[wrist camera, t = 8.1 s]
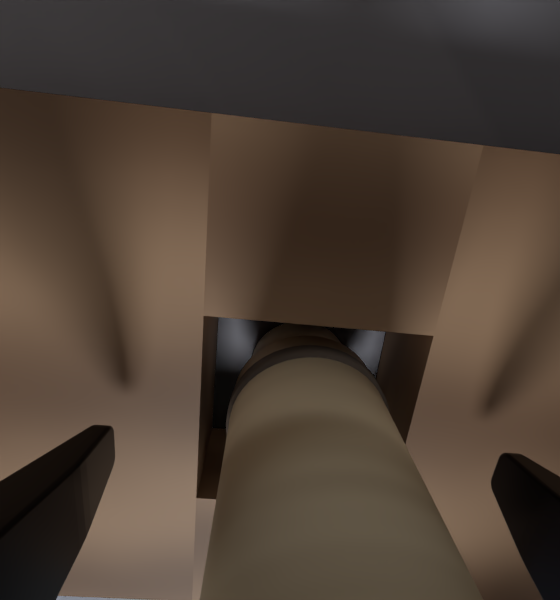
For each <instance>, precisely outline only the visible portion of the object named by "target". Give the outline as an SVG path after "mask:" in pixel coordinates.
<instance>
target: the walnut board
mask: <svg viewBox="0 0 560 600" xmlns="http://www.w3.org/2000/svg"><path fill="white" fill-rule="evenodd" d="M218 317H224V318H235V319H247V320H258V321H270V322H281V323H293V324H304V325H315V326H327V327H338V328H350V329H361V330H373V331H384V332H386V335H385V340H384V344H383V349H382V354H381V358H380V363H379V367H378V372H377V377H376V380H377V382H378V384H379V386H380V388H381V390H382V392H383V394H384V396H385V398H386V401H387V404H388V407H389V413H390V415H391V417H392V419H393V421H394V423H395V425H396V427H397V429H398V431H399V433H400V435H401V437H402V439H403V441H404V443H405V445H406V447H407V449H408V451H409V453H410V455H411V457H412V459H413V461H414V463H415V465H416V467H417V469H418V471H419V473H420V475H421V477H422V479H423V481H424V483H425V485H426V487H427V489H428V491H429V493H430V495H431V497H432V499H433V501H434V503H435V505H436V507H437V509H438V511H439V513H440V515H441V517H442V519H443V521H444V522H445V524H446V526H447V528H448V530H449V532H450V534H451V536H452V538H453V540H454V542H455V544H456V546H457V548H458V550H459V552H460V554H461V556H462V558H463V560H464V562H465V564H466V566H467V568H468V570H469V572H470V574H471V576H472V578H473V580H474V582H475V584H476V586H477V588H478V590H479V592H480V594H481V596H482V598H483V600H543V599H542V597H541V595H540V593H539V591H538V589H537V587H536V586H535V584H534V582H533V580H532V578H531V576H530V574H529V572H528V570H527V568H526V566H525V564H524V562H523V560H522V558H521V556H520V554H519V552H518V550H517V547H516V545H515V543H514V540H513V538H512V536H511V533H510V531H509V529H508V526H507V524H506V522H505V519H504V517H503V515H502V512H501V510H500V508H499V505H498V503H497V501H496V498H495V496H494V494H493V491H492V488H491V478H492V475H493V472H494V470H495V467H496V464H497V462H498V459H499V457H500V455H501V454H502V453H518V454H522V455H524V456H526V457H527V458H529V459H531V460H532V461H534V462H536V463H538V464H539V465H541V466H543V467H544V468H546V469H548V470H549V471H551V472H553V473H554V474H556V475H558V476H559V477H560V154H552V153H544V152H536V151H527V150H519V149H510V148H502V147H494V146H485V145H477V144H468V143H460V142H452V141H443V140H435V139H426V138H418V137H410V136H401V135H393V134H385V133H376V132H368V131H359V130H351V129H343V128H334V127H326V126H317V125H309V124H301V123H292V122H284V121H275V120H267V119H259V118H250V117H242V116H233V115H225V114H217V113H208V112H200V111H192V110H183V109H175V108H166V107H158V106H150V105H141V104H133V103H124V102H116V101H108V100H99V99H91V98H82V97H74V96H66V95H57V94H49V93H41V92H32V91H24V90H15V89H7V88H0V481H1V480H3V479H5V478H6V477H8V476H9V475H11V474H13V473H14V472H16V471H18V470H19V469H21V468H23V467H24V466H26V465H28V464H29V463H31V462H32V461H34V460H36V459H37V458H39V457H41V456H42V455H44V454H46V453H47V452H49V451H51V450H52V449H54V448H55V447H57V446H59V445H60V444H62V443H64V442H65V441H67V440H69V439H70V438H72V437H74V436H75V435H77V434H78V433H80V432H82V431H83V430H85V429H87V428H88V427H90V426H92V425H110V426H112V427H113V429H114V440H115V462H114V466H113V469H112V471H111V474H110V477H109V479H108V482H107V485H106V487H105V490H104V493H103V495H102V498H101V501H100V503H99V506H98V509H97V511H96V514H95V516H94V519H93V522H92V524H91V527H90V530H89V532H88V534H87V537H86V539H85V541H84V543H83V546H82V548H81V550H80V552H79V554H78V556H77V558H76V560H75V562H74V564H73V566H72V568H71V570H70V572H69V574H68V576H67V578H66V580H65V582H64V584H63V586H62V588H61V590H60V592H59V594H58V596H78V597H102V598H125V599H149V600H200V594H201V588H202V582H203V576H204V570H205V564H206V558H207V552H208V546H209V540H210V534H211V528H212V522H213V516H214V510H215V504H216V498H217V492H218V486H219V480H220V474H221V468H222V462H223V456H224V450H225V444H226V438H227V433H226V429H220V428H212V424H213V406H214V387H215V369H216V350H217V332H218Z"/></svg>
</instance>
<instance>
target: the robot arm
mask: <svg viewBox="0 0 560 600" xmlns="http://www.w3.org/2000/svg"><path fill="white" fill-rule="evenodd" d="M114 462H115V440H114V429H113V427H112V426H110V425H92V426H90V427H88V428H87V429H85V430H83V431H82V432H80V433H78V434H77V435H75V436H74V437H72V438H70V439H69V440H67V441H65V442H64V443H62V444H60V445H59V446H57V447H55V448H54V449H52V450H51V451H49V452H47V453H46V454H44V455H42V456H41V457H39V458H37V459H36V460H34V461H32V462H31V463H29V464H28V465H26V466H24V467H23V468H21V469H19V470H18V471H16V472H14V473H13V474H11V475H9V476H8V477H6V478H5V479H3V480H1V481H0V600H56V598H57V596H58V594H59V592H60V590H61V588H62V586H63V584H64V582H65V580H66V578H67V576H68V574H69V572H70V570H71V568H72V566H73V564H74V562H75V560H76V558H77V556H78V554H79V552H80V550H81V548H82V546H83V543H84V541H85V539H86V537H87V534H88V532H89V530H90V527H91V524H92V522H93V519H94V516H95V514H96V511H97V509H98V506H99V503H100V501H101V498H102V495H103V493H104V490H105V487H106V485H107V482H108V479H109V477H110V474H111V471H112V469H113V466H114ZM491 488H492V491H493V494H494V496H495V498H496V501H497V503H498V505H499V508H500V510H501V512H502V515H503V517H504V519H505V522H506V524H507V526H508V529H509V531H510V533H511V536H512V538H513V540H514V543H515V545H516V547H517V550H518V552H519V554H520V556H521V558H522V560H523V562H524V564H525V566H526V568H527V570H528V572H529V574H530V576H531V578H532V580H533V582H534V584H535V586H536V587H537V589H538V591H539V593H540V595H541V597H542V599H543V600H560V477H559V476H558V475H556V474H554V473H553V472H551V471H549V470H548V469H546V468H544V467H543V466H541V465H539V464H538V463H536V462H534V461H532V460H531V459H529V458H527V457H526V456H524V455H522V454H518V453H502V454H501V455H500V457H499V459H498V462H497V464H496V467H495V470H494V472H493V475H492V478H491Z"/></svg>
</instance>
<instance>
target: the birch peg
mask: <svg viewBox="0 0 560 600" xmlns="http://www.w3.org/2000/svg"><path fill="white" fill-rule="evenodd" d="M226 433H227V438H226V444H225V450H224V456H223V462H222V468H221V474H220V480H219V486H218V492H217V498H216V504H215V510H214V516H213V522H212V528H211V534H210V540H209V546H208V552H207V558H206V564H205V570H204V576H203V582H202V588H201V594H200V600H483V598H482V596H481V594H480V592H479V590H478V588H477V586H476V584H475V582H474V580H473V578H472V576H471V574H470V572H469V570H468V568H467V566H466V564H465V562H464V560H463V558H462V556H461V554H460V552H459V550H458V548H457V546H456V544H455V542H454V540H453V538H452V536H451V534H450V532H449V530H448V528H447V526H446V524H445V522H444V521H443V519H442V517H441V515H440V513H439V511H438V509H437V507H436V505H435V503H434V501H433V499H432V497H431V495H430V493H429V491H428V489H427V487H426V485H425V483H424V481H423V479H422V477H421V475H420V473H419V471H418V469H417V467H416V465H415V463H414V461H413V459H412V457H411V455H410V453H409V451H408V449H407V447H406V445H405V443H404V441H403V439H402V437H401V435H400V433H399V431H398V429H397V427H396V425H395V423H394V421H393V419H392V417H391V415H390V413H389V407H388V404H387V401H386V398H385V396H384V394H383V392H382V390H381V388H380V386H379V384H378V382H377V380H376V379H375V377H374V376H373V374H372V373H371V372H370V370H369V369H368V368H367V367H366V366H365V364H364V363H363V361H362V360H361V359H360V358H359V357H358V356H357V355H356V354H355V353H354V352H353V351H352V350H350V349H349V348H348V347H346V346H344V345H343V344H341V343H340V341H339V340H338V338H337V337H336V336H335V335H334V334H333V333H332V332H331V331H329V330H328V329H326V328H325V327H323V326H315V325H304V324H293V323H284V324H282V325H279V326H277V327H275V328H273V329H272V330H270V331H269V332H267V333H266V334H265V335H264V336H263V337H262V338H261V339H260V341H259V342H258V344H257V345H256V347H255V349H254V352H253V355H252V357H251V358H250V360H249V361H248V362H247V363H246V364H245V366H244V367H243V369H242V370H241V372H240V374H239V376H238V378H237V382H236V385H235V388H234V390H233V392H232V395H231V398H230V401H229V407H228V412H227V419H226Z"/></svg>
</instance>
